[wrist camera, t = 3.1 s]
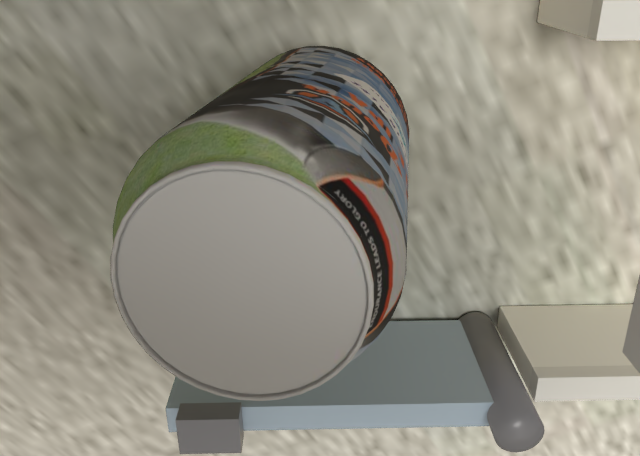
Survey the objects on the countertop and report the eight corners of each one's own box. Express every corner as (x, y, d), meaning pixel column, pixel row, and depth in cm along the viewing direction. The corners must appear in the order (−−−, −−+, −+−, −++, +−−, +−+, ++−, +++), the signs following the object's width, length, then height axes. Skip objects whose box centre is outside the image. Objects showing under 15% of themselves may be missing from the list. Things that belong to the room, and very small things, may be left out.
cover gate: (495, 311, 25) (547, 413, 19) (490, 344, 26) (540, 451, 20) (191, 316, 25) (158, 420, 19) (195, 349, 25) (164, 458, 20)
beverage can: (407, 198, 23) (497, 423, 12) (213, 220, 23) (128, 461, 12) (396, 23, 20) (498, 106, 9) (178, 50, 21) (31, 161, 10)
